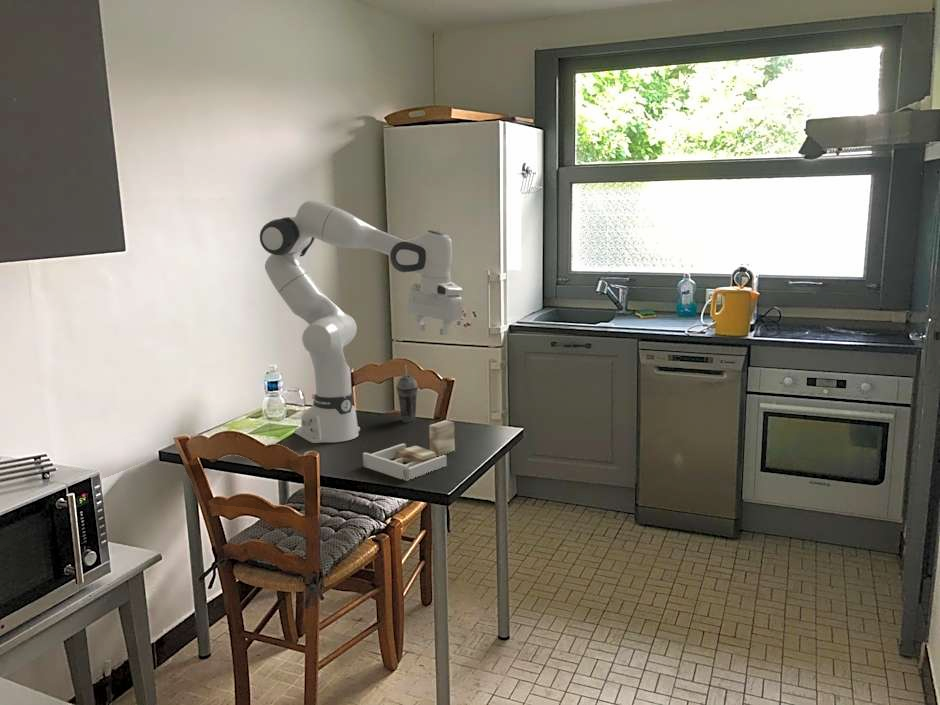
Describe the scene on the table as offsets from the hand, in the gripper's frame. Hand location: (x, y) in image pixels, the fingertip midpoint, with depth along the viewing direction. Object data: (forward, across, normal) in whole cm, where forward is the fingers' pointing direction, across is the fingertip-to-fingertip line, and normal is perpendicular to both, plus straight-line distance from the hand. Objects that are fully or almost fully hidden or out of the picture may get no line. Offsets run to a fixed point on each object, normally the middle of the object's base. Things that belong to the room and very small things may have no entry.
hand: (432, 332), depth 234 cm
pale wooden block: (+35, +9, -1) cm, 36 cm away
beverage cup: (+35, -24, +16) cm, 46 cm away
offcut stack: (+36, +9, -11) cm, 39 cm away
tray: (+36, +9, -16) cm, 41 cm away
